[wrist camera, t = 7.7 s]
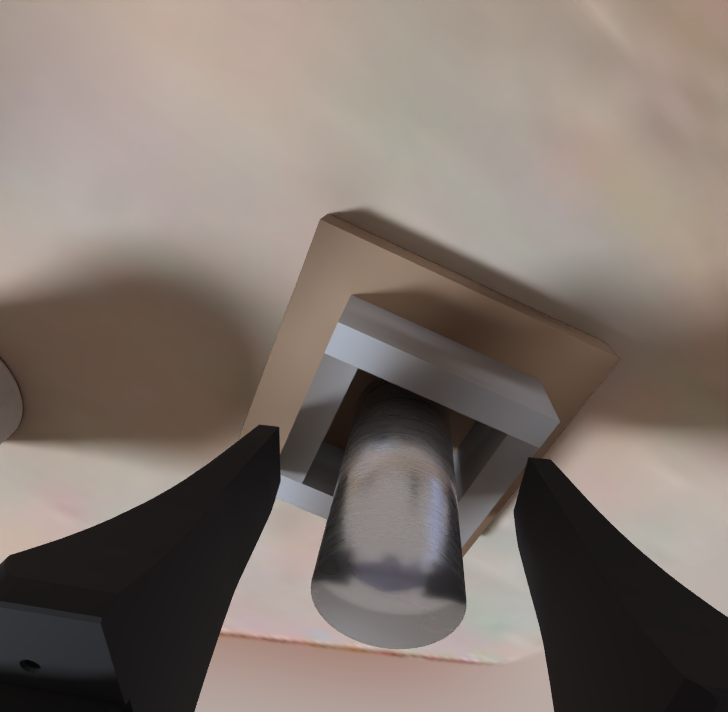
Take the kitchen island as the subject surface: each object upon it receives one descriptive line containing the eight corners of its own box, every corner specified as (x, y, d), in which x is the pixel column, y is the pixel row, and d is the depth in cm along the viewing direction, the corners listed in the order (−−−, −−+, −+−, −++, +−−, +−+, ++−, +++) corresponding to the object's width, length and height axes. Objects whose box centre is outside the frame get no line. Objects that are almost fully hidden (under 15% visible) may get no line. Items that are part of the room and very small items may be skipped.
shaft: (461, 386, 15) (488, 567, 8) (434, 461, 16) (440, 663, 10) (367, 363, 15) (324, 526, 9) (348, 439, 16) (300, 627, 10)
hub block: (606, 342, 15) (656, 398, 12) (459, 535, 19) (466, 615, 16) (328, 213, 14) (299, 234, 11) (241, 444, 18) (202, 507, 15)
